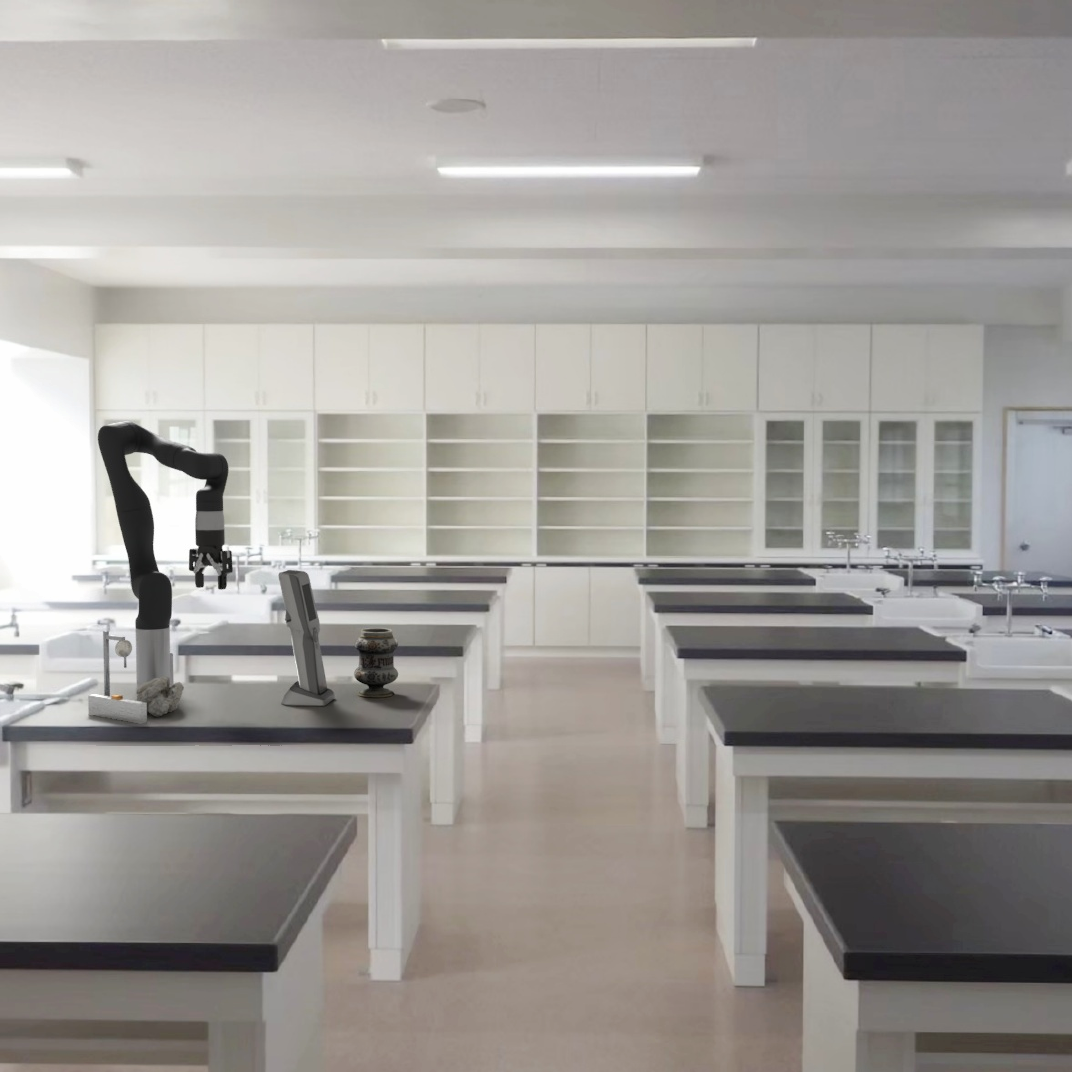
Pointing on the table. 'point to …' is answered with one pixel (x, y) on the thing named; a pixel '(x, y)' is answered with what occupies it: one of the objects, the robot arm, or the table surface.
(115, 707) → the rail
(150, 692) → the mineral
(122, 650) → the dial indicator stand
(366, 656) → the apothecary jar
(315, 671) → the thermal camera
